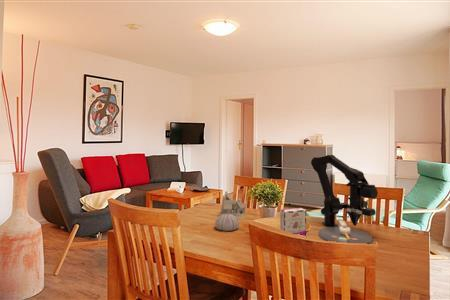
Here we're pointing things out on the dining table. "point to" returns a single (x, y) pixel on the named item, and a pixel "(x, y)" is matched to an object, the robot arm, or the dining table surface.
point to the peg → (343, 228)
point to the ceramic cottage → (232, 206)
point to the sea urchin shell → (227, 222)
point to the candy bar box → (293, 221)
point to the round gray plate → (354, 236)
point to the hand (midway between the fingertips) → (355, 225)
